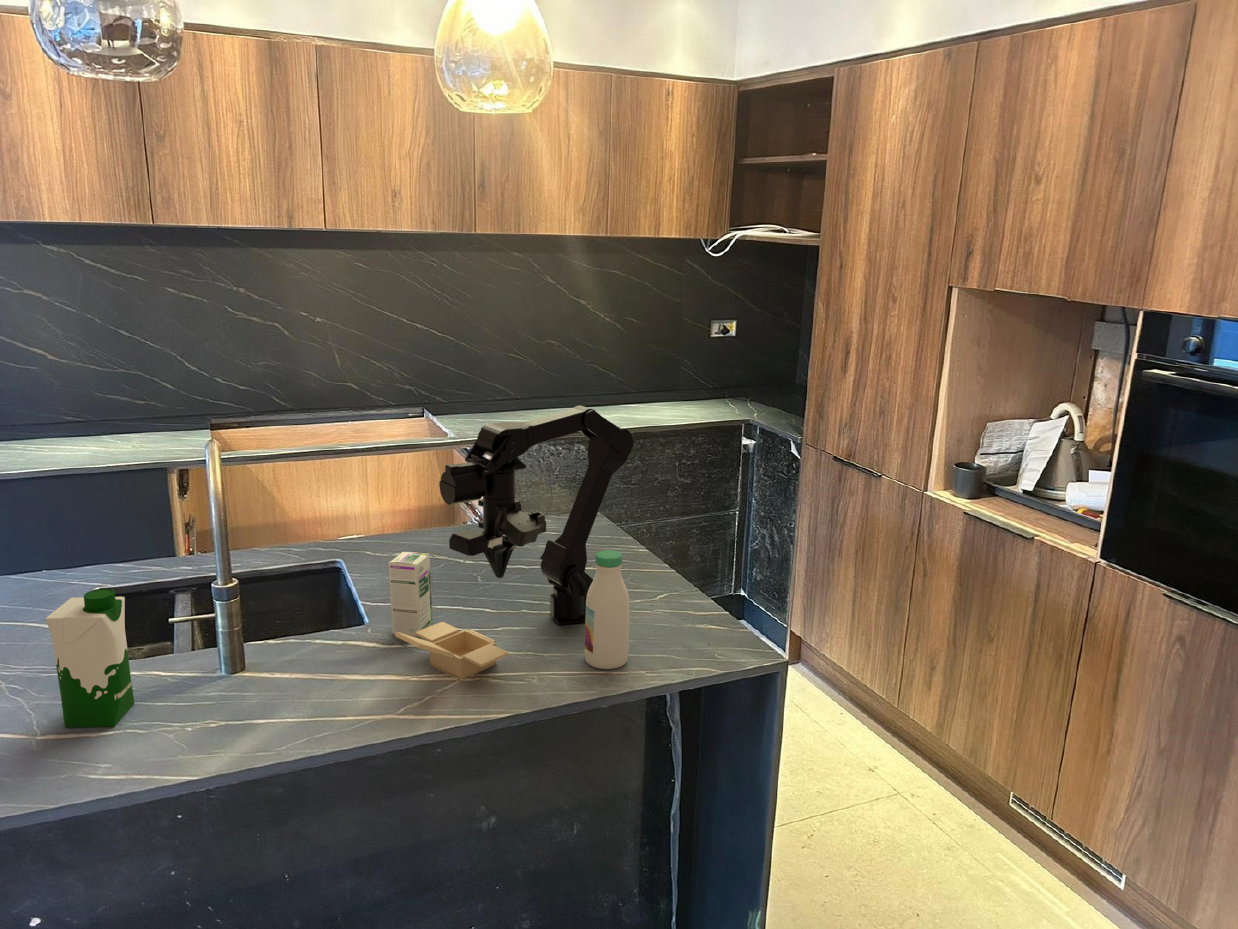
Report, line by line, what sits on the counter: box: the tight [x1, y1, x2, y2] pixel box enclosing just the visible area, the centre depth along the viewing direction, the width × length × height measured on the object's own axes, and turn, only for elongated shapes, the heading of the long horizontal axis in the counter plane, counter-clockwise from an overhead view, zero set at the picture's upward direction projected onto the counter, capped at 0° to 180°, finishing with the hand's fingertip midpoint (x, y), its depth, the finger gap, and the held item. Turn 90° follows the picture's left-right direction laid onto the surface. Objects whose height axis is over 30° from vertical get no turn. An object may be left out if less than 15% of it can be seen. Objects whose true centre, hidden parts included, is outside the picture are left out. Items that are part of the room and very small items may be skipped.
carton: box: [415, 621, 509, 681], centre depth 157 cm, size 9×17×4 cm, turn 50°
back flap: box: [393, 632, 454, 658], centre depth 149 cm, size 1×6×8 cm
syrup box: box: [387, 551, 434, 638], centre depth 168 cm, size 6×6×14 cm
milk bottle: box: [584, 549, 630, 670], centre depth 158 cm, size 8×8×20 cm
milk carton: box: [45, 588, 135, 729], centre depth 136 cm, size 9×9×20 cm
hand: (499, 577), depth 164 cm, fingers closed
